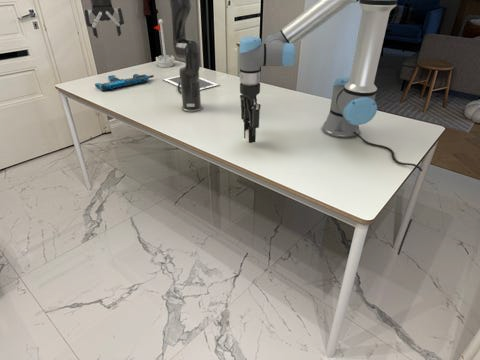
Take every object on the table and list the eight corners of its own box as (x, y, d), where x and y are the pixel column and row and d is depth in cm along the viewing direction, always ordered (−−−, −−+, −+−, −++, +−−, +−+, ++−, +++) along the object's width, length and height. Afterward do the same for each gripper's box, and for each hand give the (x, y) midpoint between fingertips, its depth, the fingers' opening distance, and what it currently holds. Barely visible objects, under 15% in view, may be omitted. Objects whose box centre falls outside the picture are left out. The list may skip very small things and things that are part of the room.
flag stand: (173, 62, 250) (168, 17, 234) (176, 66, 240) (172, 20, 223) (155, 63, 246) (149, 18, 230) (158, 68, 236) (152, 21, 219)
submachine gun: (139, 68, 225) (158, 74, 208) (140, 74, 226) (158, 80, 210) (87, 78, 206) (103, 86, 189) (89, 84, 208) (104, 92, 191)
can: (254, 142, 136) (254, 133, 134) (245, 142, 136) (245, 132, 134) (254, 138, 139) (254, 129, 137) (245, 138, 139) (245, 129, 137)
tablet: (162, 79, 213) (162, 79, 213) (189, 73, 224) (189, 73, 224) (191, 92, 193) (191, 91, 192) (219, 85, 204) (219, 84, 203)
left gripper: (79, -7, 125) (90, 39, 133) (119, -9, 130) (127, 36, 139) (78, -9, 130) (88, 36, 139) (116, -10, 135) (124, 33, 144)
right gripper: (231, 77, 130) (233, 133, 143) (250, 90, 117) (250, 150, 130) (249, 75, 132) (249, 130, 145) (269, 87, 119) (267, 146, 132)
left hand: (108, 36), depth 139 cm, fingers open, 8 cm apart
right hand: (249, 139), depth 137 cm, fingers closed on can, 4 cm apart
